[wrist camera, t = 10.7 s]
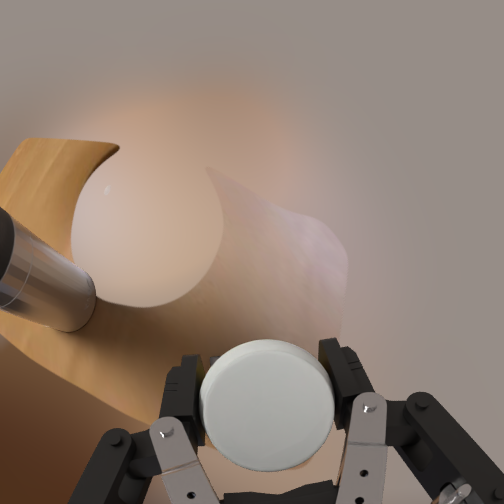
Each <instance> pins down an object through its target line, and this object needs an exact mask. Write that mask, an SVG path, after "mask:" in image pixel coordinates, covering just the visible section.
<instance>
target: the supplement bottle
mask: <svg viewBox="0 0 504 504" xmlns="http://www.w3.org/2000/svg"><path fill="white" fill-rule="evenodd" d="M334 412H335V394H334V389H333V385H332V382H331V380H330V378H329V375H328V373H327V372H326V370H325V369H324V367H323V366H322V365H321V363H320V362H319V361H318V360H317V359H316V358H315V357H314V356H313V355H311V354H310V353H309V352H307V351H306V350H304V349H302V348H301V347H299V346H297V345H294V344H292V343H288V342H285V341H280V340H271V339H264V340H254V341H250V342H247V343H243V344H241V345H238V346H236V347H234V348H232V349H231V350H229V351H228V352H226V353H225V354H223V355H222V356H221V357H220V358H219V359H218V360H217V361H216V362H215V363H214V364H213V365H212V367H211V368H210V369H209V371H208V372H207V374H206V376H205V378H204V380H203V383H202V386H201V389H200V394H199V414H200V418H201V422H202V425H203V428H204V430H205V432H206V434H207V435H208V437H209V439H210V440H211V442H212V443H213V445H214V446H215V447H216V448H217V450H218V451H219V452H220V453H221V454H222V455H223V456H225V457H226V458H227V459H229V460H230V461H232V462H233V463H235V464H236V465H239V466H241V467H243V468H246V469H249V470H254V471H261V472H274V471H282V470H286V469H289V468H292V467H295V466H297V465H299V464H301V463H303V462H305V461H306V460H307V459H309V458H310V457H311V456H313V455H314V454H315V453H316V452H317V451H318V450H319V449H320V448H321V446H322V445H323V444H324V442H325V441H326V439H327V437H328V435H329V433H330V431H331V428H332V424H333V420H334Z"/></svg>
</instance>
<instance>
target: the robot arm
mask: <svg viewBox="0 0 504 504" xmlns="http://www.w3.org/2000/svg"><path fill="white" fill-rule="evenodd" d="M95 302H96V290H95V286H94V283H93V281H92V279H91V277H90V276H89V275H88V274H87V273H86V272H85V271H84V270H82V269H81V268H79V267H78V266H76V265H75V264H74V263H72V262H71V261H70V260H68V259H67V258H65V257H64V256H63V255H61V254H60V253H58V252H57V251H56V250H54V249H53V248H52V247H50V246H49V245H48V244H46V243H45V242H44V241H42V240H41V239H40V238H38V237H37V236H36V235H35V234H33V233H32V232H31V231H29V230H28V229H27V228H26V227H24V226H23V225H22V224H20V223H19V222H18V221H17V220H15V219H14V218H13V217H12V216H11V215H9V214H8V213H7V212H6V211H5V210H3V209H2V208H1V207H0V310H2V311H5V312H7V313H10V314H13V315H15V316H18V317H21V318H24V319H27V320H30V321H32V322H35V323H38V324H41V325H44V326H47V327H50V328H53V329H57V330H60V331H64V332H72V331H76V330H78V329H80V328H81V327H82V326H84V325H85V324H86V323H87V321H88V320H89V319H90V317H91V315H92V313H93V310H94V307H95ZM318 361H319V362H320V363H321V365H322V366H323V367H324V369H325V370H326V372H327V373H328V375H329V378H330V380H331V382H332V385H333V389H334V394H335V412H334V422H335V425H336V428H337V430H340V429H344V430H345V433H346V438H345V442H344V448H343V454H342V459H341V464H340V469H339V473H338V477H337V481H336V485H333V482H332V480H328V481H323V482H318V483H313V484H307V485H304V486H301V487H299V488H296V489H294V490H291V491H288V492H285V493H283V494H278V495H276V494H265V493H256V492H241V493H224V499H223V500H219V498H218V496H217V494H216V492H215V491H214V489H213V487H212V485H211V483H210V481H209V479H208V477H207V475H206V473H205V471H204V469H203V467H202V465H201V463H200V461H199V458H198V456H197V452H198V446H205V430H204V428H203V425H202V422H201V418H200V414H199V394H200V389H201V386H202V383H203V380H204V378H205V372H204V369H203V365H202V361H201V357H200V355H199V354H195V355H183V357H182V362H181V366H180V367H173V368H172V369H171V370H170V372H169V373H168V374H167V378H166V383H165V384H166V385H165V388H164V393H163V398H162V404H161V409H160V415H159V419H157V420H156V421H155V422H154V423H153V424H152V425H151V427H150V429H148V430H146V431H142V432H138V433H134V434H129V432H127V431H126V430H124V429H121V428H114V429H111V430H109V431H107V432H106V433H105V434H104V435H103V436H102V438H101V440H100V442H99V443H98V445H97V447H96V449H95V451H94V453H93V455H92V457H91V458H90V461H89V462H88V464H87V466H86V468H85V470H84V472H83V474H82V476H81V478H80V480H79V482H78V484H77V486H76V488H75V490H74V492H73V494H72V496H71V498H70V500H69V502H68V504H143V501H144V499H145V496H146V493H147V491H148V488H149V485H150V483H151V480H152V477H153V476H155V475H159V474H161V476H162V480H163V482H164V485H165V488H166V490H167V493H168V495H169V498H170V500H171V503H172V504H382V497H383V489H384V481H385V472H386V462H387V446H393V447H394V448H395V450H396V451H397V452H398V454H399V455H400V456H401V458H402V459H403V461H404V462H405V463H406V465H407V466H408V467H409V469H410V470H411V471H412V473H413V474H414V476H415V477H416V478H417V480H418V481H419V482H420V484H421V485H422V486H423V488H424V489H425V491H426V492H427V493H428V495H429V496H430V497H431V499H432V500H433V501H432V502H431V504H504V474H503V473H502V471H501V470H500V469H499V468H498V467H497V466H496V465H495V463H494V462H493V461H492V460H491V459H490V458H489V457H488V456H487V454H486V453H485V452H484V451H483V450H482V449H481V448H480V447H479V446H478V445H477V443H476V442H475V441H474V440H473V439H472V438H471V437H470V436H469V435H468V433H467V432H466V431H465V430H464V429H463V428H462V427H461V426H460V425H459V424H458V423H457V422H456V420H455V419H454V418H453V417H452V416H451V415H450V414H449V413H448V412H447V411H446V410H445V409H444V407H443V406H442V405H441V404H440V403H439V402H438V401H437V400H436V399H435V398H434V397H433V396H432V395H430V394H429V393H426V392H416V393H413V394H412V395H410V396H409V397H408V399H407V401H389V400H385V399H384V398H383V397H382V396H381V395H379V394H377V393H375V391H374V389H373V387H372V385H371V383H370V381H369V379H368V377H367V375H366V373H365V370H364V369H363V366H362V364H361V362H360V360H359V358H358V357H357V354H356V353H355V352H354V351H353V350H352V349H351V348H349V347H348V346H347V347H342V348H341V347H340V345H339V343H338V341H337V339H336V338H330V339H324V340H320V341H319V353H318Z"/></svg>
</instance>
